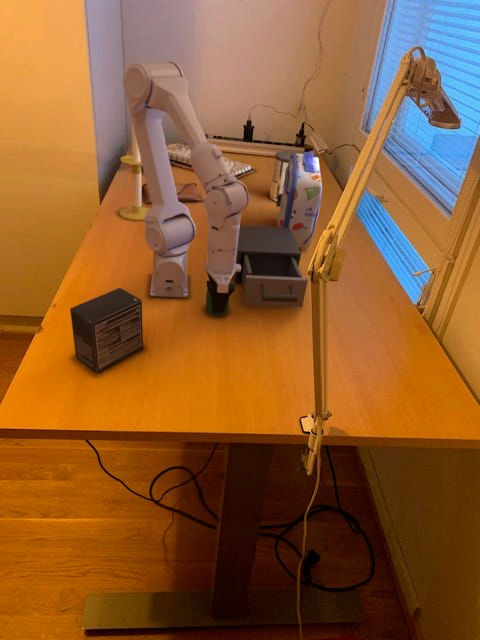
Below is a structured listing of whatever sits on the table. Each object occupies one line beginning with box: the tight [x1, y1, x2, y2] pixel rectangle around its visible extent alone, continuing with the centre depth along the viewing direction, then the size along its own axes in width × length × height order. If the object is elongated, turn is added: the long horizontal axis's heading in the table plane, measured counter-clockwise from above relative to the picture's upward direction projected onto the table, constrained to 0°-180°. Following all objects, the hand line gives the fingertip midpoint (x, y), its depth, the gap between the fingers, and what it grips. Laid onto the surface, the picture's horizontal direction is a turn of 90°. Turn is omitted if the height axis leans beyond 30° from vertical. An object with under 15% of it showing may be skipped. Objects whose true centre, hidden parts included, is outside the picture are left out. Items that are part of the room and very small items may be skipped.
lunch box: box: [275, 151, 323, 250], centre depth 134 cm, size 28×10×22 cm, turn 176°
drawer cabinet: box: [233, 224, 302, 285], centre depth 118 cm, size 15×14×8 cm
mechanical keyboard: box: [166, 142, 257, 180], centre depth 186 cm, size 38×19×3 cm, turn 61°
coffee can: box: [269, 150, 304, 202], centre depth 161 cm, size 10×10×14 cm
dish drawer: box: [240, 254, 308, 308], centre depth 106 cm, size 19×13×7 cm
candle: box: [118, 122, 150, 221], centre depth 132 cm, size 10×10×32 cm
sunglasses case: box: [141, 182, 203, 204], centre depth 153 cm, size 18×7×7 cm
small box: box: [69, 287, 145, 374], centre depth 85 cm, size 11×6×10 cm, turn 141°
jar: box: [205, 289, 231, 318], centre depth 101 cm, size 5×5×5 cm
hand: (217, 305), depth 102 cm, fingers closed on jar, 5 cm apart
